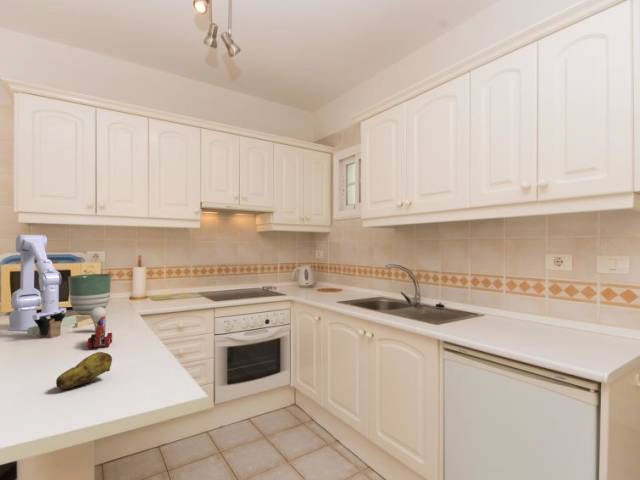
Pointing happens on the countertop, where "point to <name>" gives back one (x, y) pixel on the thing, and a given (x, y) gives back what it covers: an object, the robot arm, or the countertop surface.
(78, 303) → the planter
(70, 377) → the potato
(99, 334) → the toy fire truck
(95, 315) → the lightbulb
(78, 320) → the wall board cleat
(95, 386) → the countertop surface
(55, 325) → the cabinet block
